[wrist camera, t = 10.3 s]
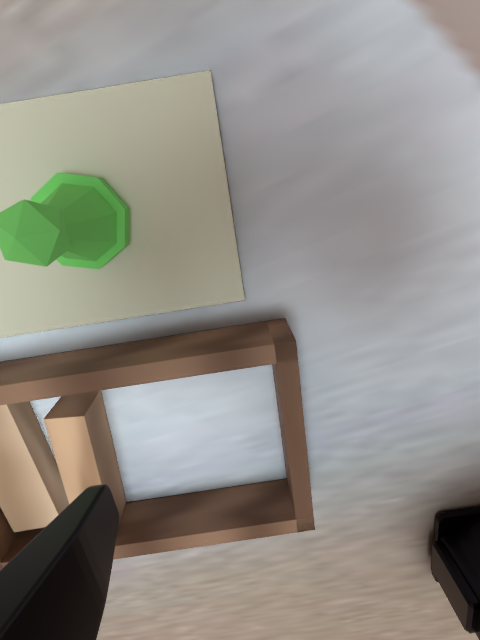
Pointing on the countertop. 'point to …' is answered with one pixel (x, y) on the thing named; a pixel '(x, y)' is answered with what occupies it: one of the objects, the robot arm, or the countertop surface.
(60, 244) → the game piece
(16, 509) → the block
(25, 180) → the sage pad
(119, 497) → the offcut top
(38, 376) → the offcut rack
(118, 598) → the countertop surface
